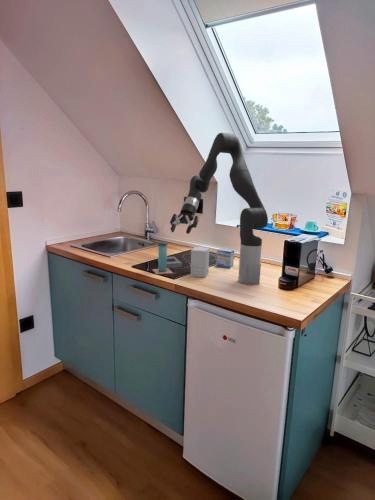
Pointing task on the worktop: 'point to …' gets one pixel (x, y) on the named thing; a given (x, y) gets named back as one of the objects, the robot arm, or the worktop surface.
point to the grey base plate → (173, 262)
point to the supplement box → (199, 262)
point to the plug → (162, 256)
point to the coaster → (162, 272)
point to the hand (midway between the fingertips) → (179, 232)
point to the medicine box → (225, 258)
